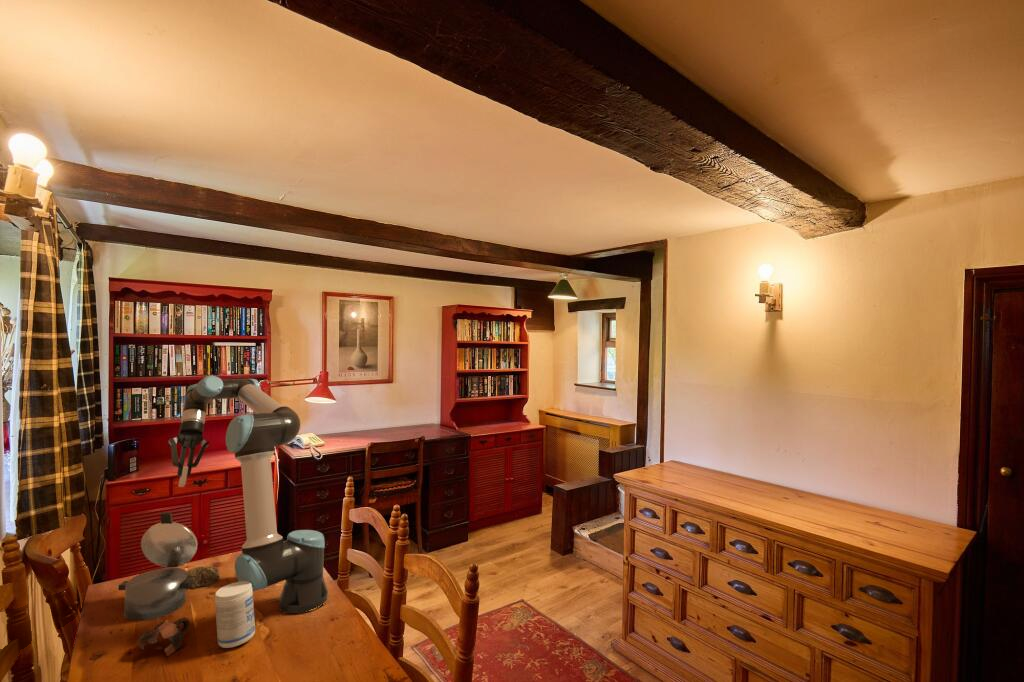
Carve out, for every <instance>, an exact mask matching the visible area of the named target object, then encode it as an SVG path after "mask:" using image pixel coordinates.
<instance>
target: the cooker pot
mask: <svg viewBox="0 0 1024 682" xmlns="http://www.w3.org/2000/svg"><path fill="white" fill-rule="evenodd" d="M186 571H187V570H186V569H184V568H180V567H164V568H163V567H162V568H159V569H152V570H149V571H146V572H144V573H140V574H138V575H136V576H134V577H132V578H131V579H129V580H123V582H121V583H120V584H119V585H118V587H117V588H118V589H117V590H118V591H124V606H123V607H124V610H123V616H124V615H125V616H124V618H125V617H126V618H125V619H126V620H129V619H130V621H134V620H136V621H137V620H142V621H149V620H148V619H150V620H155V619H158V618H161V617H165V616H167V615H169V614H172V613H174V612H176V611H177V610H179V609H180V608H182V607H183V606H184V604H185V602H186V597H187V595H186V593H187V589H188V588H189V587H190V586H192V585H193V583H194V579H186V576H187V572H186ZM154 618H155V619H154ZM136 621H135V622H136ZM137 622H138V621H137Z"/></svg>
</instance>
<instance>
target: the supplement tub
mask: <svg viewBox="0 0 1024 682" xmlns="http://www.w3.org/2000/svg"><path fill="white" fill-rule="evenodd" d="M214 594H215V595H214V605H215V606H214V607H215V621H216V634H217V635H216V637H217V644H218V646H219V647H221V648H223V649H224V648H225V649H227V648H229V649H230V648H234V647H239V646H240V645H244V644H245V643H247V642H249V640H251V639H252V638H253V637H254V635H255V632H256V626H255V624H256V622H255V608H254V591H253V590H252V584H251V583H250V582H248V581H240V582H239V581H236V582H232V583H229V584H226V585H224V586H222V587H220V588H219V589H217V590H216V591H215V593H214Z"/></svg>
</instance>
